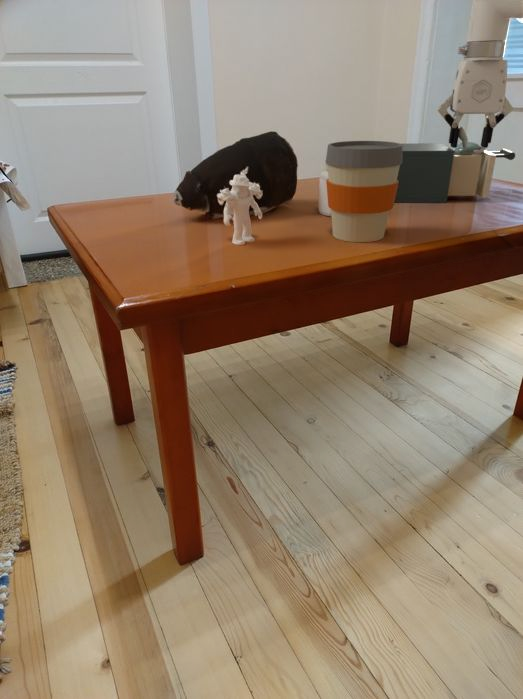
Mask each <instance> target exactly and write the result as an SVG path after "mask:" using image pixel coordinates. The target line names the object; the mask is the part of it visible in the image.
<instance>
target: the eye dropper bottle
mask: <svg viewBox="0 0 523 699" xmlns="http://www.w3.org/2000/svg"><path fill="white" fill-rule="evenodd" d="M327 179H329V178H328V165H327V164H326V158H325V159H324V171H322V172H321V173H320V175H319V181H318V204H317V206H318V208H317V210H318V213H319V214H320V215H322V216H326V217H331V209H330V208H329V207H328V197H327V184H326V180H327Z"/></svg>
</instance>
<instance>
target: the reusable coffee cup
mask: <svg viewBox="0 0 523 699" xmlns="http://www.w3.org/2000/svg"><path fill="white" fill-rule="evenodd" d="M402 144H403V143H400V142H394V141H385V140H383V141H382V140H344V141H336V142H330V143H328V144H327V149H326V156H325V159H326V164H327V165H328V178H329V179H327V180H326V184H327V197H328V207H329V208H330V209H331V216H330V217H331V229H332V230H331V231H332V237H334V238H335V239H337V240H339V241H344V242H350V243H371V242H377V241H380V240H382V239H384V237H385V234H386V230H387V229H386V228H387V224H388V220H389V216H390V211H391V210H393V208H394V206H395V203H394V200H395V196H396V192H397V187H398V183H399V181H398V180H397V176H398V171H399V167H400V165H401V164H402Z"/></svg>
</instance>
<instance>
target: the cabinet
mask: <svg viewBox="0 0 523 699" xmlns="http://www.w3.org/2000/svg"><path fill="white" fill-rule="evenodd" d="M401 144H402V164H401V165H400V167H399V171H398V176H397V180H398V181H399V183H398V187H397V192H396V196H395V200H394V204H395V203H396V204H397V203H398V204H399V203H400V204H401V203H404V204H405V203H406V204H407V203H408V204H409V203H410V204H411V203H412V204H426V203H427V204H447V203H448V197H449V196H448V190H449V184H450V177H451V171H452V164H453V158H454V150H452V149H453V148H451V147H448V146H446V145H445V144H443V143H440V142H437V143H435V142H433V143H431V142H430V143H426V142H425V143H424V142H423V143H422V142H421V143H420V142H419V143H401Z"/></svg>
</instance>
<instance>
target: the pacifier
mask: <svg viewBox="0 0 523 699" xmlns="http://www.w3.org/2000/svg"><path fill="white" fill-rule="evenodd" d="M458 128H459V129H460V130H459V137H458V139H459V140H460V141H461V142H459V143H457V147H456V148H454V149H455V152H456V153H458V154H462V155H475V154H479V153H481V152H483V151H485V150H486V149H487V148H484V147H482V146H481V145H480V144H478V143H476V142H472V141H468V140H469V139H468V136H467V133H466V131H465V129H464V128H463V126H460V127H458ZM459 149H462V150H459ZM475 150H478V151H475Z"/></svg>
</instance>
